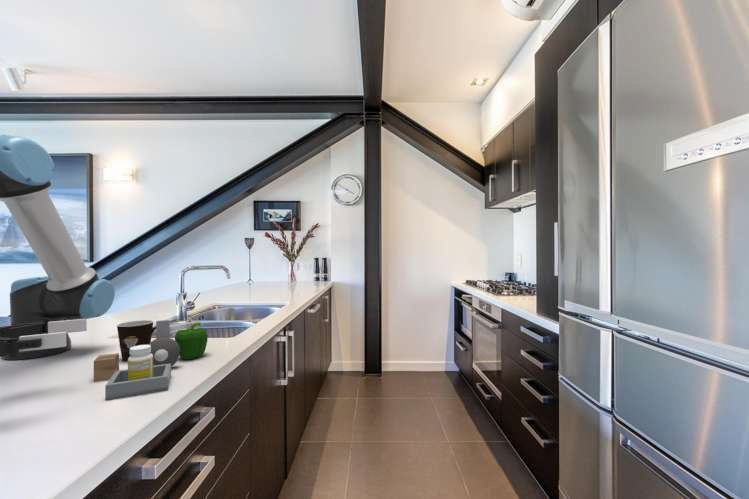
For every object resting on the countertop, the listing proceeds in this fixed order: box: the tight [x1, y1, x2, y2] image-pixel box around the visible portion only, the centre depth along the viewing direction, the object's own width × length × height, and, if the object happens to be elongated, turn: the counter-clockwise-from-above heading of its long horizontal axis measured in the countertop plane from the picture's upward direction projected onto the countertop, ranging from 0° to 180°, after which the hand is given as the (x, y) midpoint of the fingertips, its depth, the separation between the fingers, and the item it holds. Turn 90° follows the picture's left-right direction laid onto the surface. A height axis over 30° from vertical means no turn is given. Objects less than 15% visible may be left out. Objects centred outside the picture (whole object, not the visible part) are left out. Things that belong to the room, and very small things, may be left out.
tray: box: [104, 363, 172, 401], centre depth 78 cm, size 10×11×3 cm
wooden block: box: [93, 352, 120, 383], centre depth 84 cm, size 5×4×5 cm
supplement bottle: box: [127, 345, 153, 381], centre depth 78 cm, size 5×5×8 cm
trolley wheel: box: [148, 319, 180, 368], centre depth 91 cm, size 6×8×12 cm
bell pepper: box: [174, 321, 209, 360], centre depth 100 cm, size 8×8×10 cm
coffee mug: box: [116, 319, 156, 363], centre depth 99 cm, size 12×9×10 cm
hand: (77, 331), depth 73 cm, fingers open, 13 cm apart
